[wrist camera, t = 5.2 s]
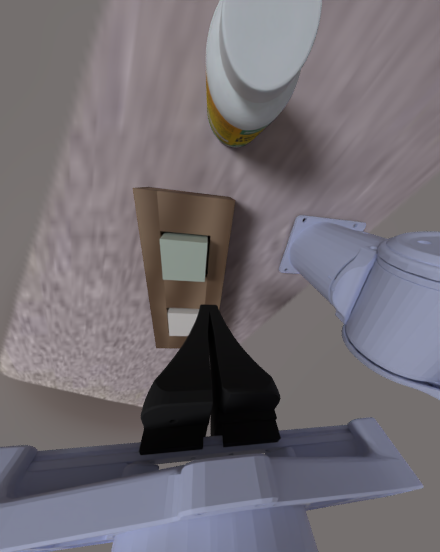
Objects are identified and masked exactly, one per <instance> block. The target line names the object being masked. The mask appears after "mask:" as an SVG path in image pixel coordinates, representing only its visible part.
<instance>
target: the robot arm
mask: <svg viewBox="0 0 440 552" xmlns="http://www.w3.org/2000/svg"><path fill="white" fill-rule="evenodd" d="M304 218H305V221H304V222H303V219H304ZM354 225H355V226H354ZM353 226H354V227H353ZM365 227H366V223H364V222H357V221H348V220H340V219H331V218H322V217H314V216H305V215H299V216H297V218H296V220H295V223H294V226H293V229H292V231H291V234H290V237H289V240H288V243H287V246H286V249H285V252H284V255H283V258H282V261H281V264H280V267H279V271H280V272H281V273H294V274H301V275H302V276H303V277H304V278H305V279H306V280H307V281H308V282H309V283H310V284H311V285H312V286H313V287H314V288H315V289H317V291H318V292H320V293H321V294H322V295H323V296H324V297H325V298H326V299H327V300H328V301H329V302H330V303H331V304H332V305H333V306H334V307H335V309H336V314H335V315H336V316H337V317H338V318H339V319H340V320H341V321H342V322H343V323H344V325H343V328H342V338H343V341H344V343H345V345H346V346H347V348H348V349H349V351H350V352H351V353H352V354H353V355H354V356H355V357H356V358H357V359H358V360H359V361H360V362H361V363H363V364H364V365H365V366H367V367H368V368H370V369H371V370H373V371H374V372H376V373H378V374H379V375H381V376H383V377H385V378H387V379H390V380H392V381H394V382H397V383H399V384H402V385H405V386H408V387H411V388H415V389H417V390H420V391H422V392H425V393H427V394H429V395H431V396H433V397H435V398H437V399H439V400H440V232H432V231H430V232H428V231H427V232H425V231H424V232H410V233H404V234H400V235H398V236H395V237H392V238H389V239H385V238H382V237H379V236H376V235H373V234H370V233H367V232H363V230H364V229H365ZM285 269H286V270H285ZM209 359H210V361H209ZM279 401H280V394H279V392H278V389H277V387H276V385H275V383H274V381H273V379H272V377H271V376H270V375H269V374H268V373H267V372H265V371H264V370H263V369H262V368H261V367H260V366H259V365H258V364H257V363H256V362H255V361H254V360H253V359H252V358H251V357H250V356H249V355H248V354H247V353H246V352H245V350H244V349H243V348H242V347H241V346H240V344H239V343H238V342H237V340H236V339H235V338H234V336H233V335H232V333H231V332H230V330H229V328H228V327H227V325H226V323H225V321H224V320H223V318H222V316H221V314H220V311H219V309H218V306H217V305H206V304H201V305H200V308H199V312H198V315H197V318H196V320H195V323H194V325H193V327H192V329H191V331H190V333H189V335H188V337H187V339H186V340H185V342H184V343H183V345H182V346H181V348H180V349H179V351H178V352H177V354H176V355H175V356H174V358H173V359H172V360H171V362H170V363H169V364H168V365H167V367H166V368H165V369H164V370H163V371H162V372H161V374H160V375H159V376H158V377H157V378H156V379H155V380H154V382H153V384H152V386H151V388H150V390H149V392H148V394H147V397H146V399H145V402H144V405H143V409H142V412H141V420H142V423H143V425H144V432H143V436H142V440H141V442H139V443H127V444H116V445H104V446H92V447H80V448H68V449H56V450H45V451H37V449H36V448H35V447H33V446H28V445H21V446H20V445H19V446H6V447H0V552H49V551H56V550H62V549H69V548H76V547H83V546H90V545H96V544H103V543H110V542H113V546H112V550H111V552H318V549H317V546H316V543H315V540H314V536H313V533H312V530H311V527H310V523H309V520H308V517H307V514H306V511H307V510H312V509H318V508H323V507H329V506H335V505H340V504H346V503H352V502H357V501H363V500H369V499H375V498H381V497H388V496H392V495H396V494H400V493H404V492H409V491H413V490H417V489H421V488H423V484H422V483H421V482H420V481H419V479H418V478H417V476H416V475H415V474H414V472H413V471H412V470H411V468H410V467H409V465H408V464H407V463H406V461H405V460H404V458H403V457H402V456H401V454H400V453H399V451H398V450H397V449H396V447H395V446H394V445H393V443H392V442H391V441H390V439H389V438H388V436H387V435H386V434H385V432H384V431H383V429H382V428H381V427H380V425H379V424H378V423H377V421H376V420H375V419H374V418H372V417H370V418H358V419H354V420H352V421H350V422H349V423H348V424H347V425H339V426H327V427H315V428H304V429H292V430H281V431H279V430H278V427H277V423H276V419H277V417H276V414H275V410H274V409H275V408H276V406H277V405H278V403H279ZM210 415H211V436H209V437H206V431H207V426H208V424H209V419H210ZM261 453H265V454H261ZM192 460H194V461H192ZM182 461H191V462H189V463H186V464H185V465H181V466H176V467H171V468H166V469H161V470H159V466H158V465H154V464H163V463H172V462H182Z"/></svg>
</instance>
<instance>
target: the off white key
mask: <svg viewBox="0 0 440 552" xmlns="http://www.w3.org/2000/svg"><path fill="white" fill-rule="evenodd" d="M198 312H199V309H188V308H169V310H168V325H169V336H188V335H189V333H190V331H191V329H192V327H193V325H194V323H195V320H196V318H197V315H198Z"/></svg>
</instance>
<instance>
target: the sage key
mask: <svg viewBox="0 0 440 552" xmlns="http://www.w3.org/2000/svg"><path fill="white" fill-rule="evenodd" d="M159 240H160V251H161V263H162V275H163V280H178V281H196V282H205V270H206V257H207V243H208V235H198V234H187V233H176V232H165V233H164V234H163V235H162V237H161V238H160V239H159Z"/></svg>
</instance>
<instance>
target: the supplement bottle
mask: <svg viewBox="0 0 440 552" xmlns="http://www.w3.org/2000/svg"><path fill="white" fill-rule="evenodd" d="M321 8H322V0H220V2H219V4H218V6H217V8H216V10H215V13H214V15H213V18H212V21H211V25H210V29H209V33H208V39H207V46H206V88H207V113H208V120H209V124H210V127H211V129H212V131H213V133H214V135H215V136H216V137H217V139H218V140H219V141H220V142H222V143H223V144H225V145H227V146H230V147H242V146H244V145H246V144H248V143H249V142H251V141H252V140H253V139H254V138H255V137H256V136H257V135H258V134H259V133H260V132H262V131H263V130H264V129H265V128H266V127H267V126H268V125H269V124H270V123H271V122H273V121H274V120H275V119H276V117H277V116H278V115H279V114H280V113H281V112H282V110H283V109H284V108H285V106H286V105H287V103H288V101H289V100H290V98H291V96H292V94H293V92H294V89H295V87H296V84H297V81H298V78H299V75H300V71H301V68H302V67H303V65H304V63H305V61H306V59H307V57H308V55H309V53H310V51H311V49H312V46H313V44H314V41H315V38H316V34H317V31H318V27H319V22H320V16H321Z"/></svg>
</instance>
